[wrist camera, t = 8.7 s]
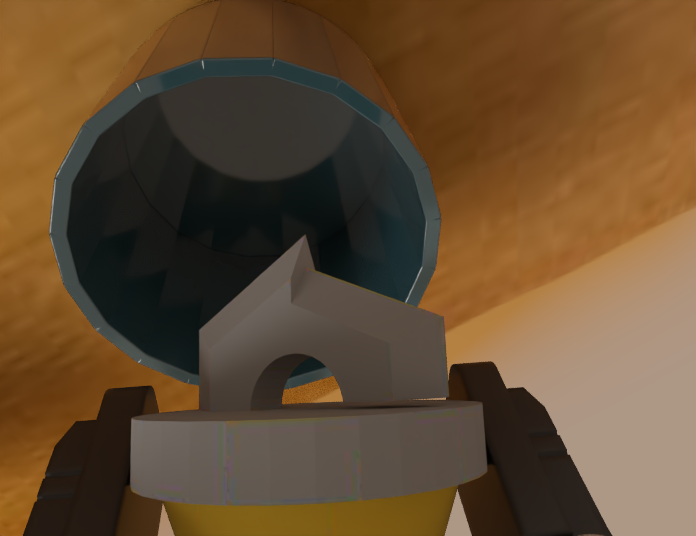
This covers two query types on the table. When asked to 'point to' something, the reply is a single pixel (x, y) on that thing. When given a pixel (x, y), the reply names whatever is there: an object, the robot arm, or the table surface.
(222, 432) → the spiral grooved cone
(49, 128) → the table surface
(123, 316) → the pen pot
